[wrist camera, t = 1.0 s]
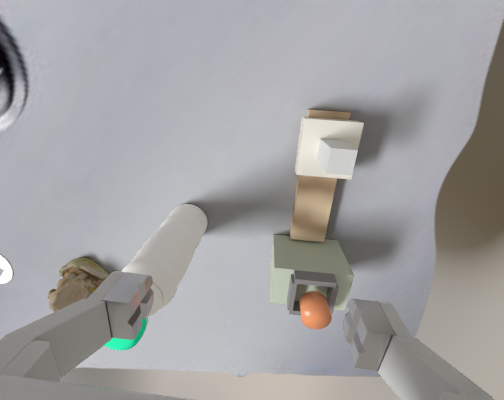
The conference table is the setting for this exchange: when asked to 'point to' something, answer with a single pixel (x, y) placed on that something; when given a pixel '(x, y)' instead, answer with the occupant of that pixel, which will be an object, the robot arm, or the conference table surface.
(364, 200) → the conference table surface
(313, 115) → the block
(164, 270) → the water bottle
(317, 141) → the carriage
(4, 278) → the cable organizer
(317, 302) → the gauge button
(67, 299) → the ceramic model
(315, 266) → the end cabinet
